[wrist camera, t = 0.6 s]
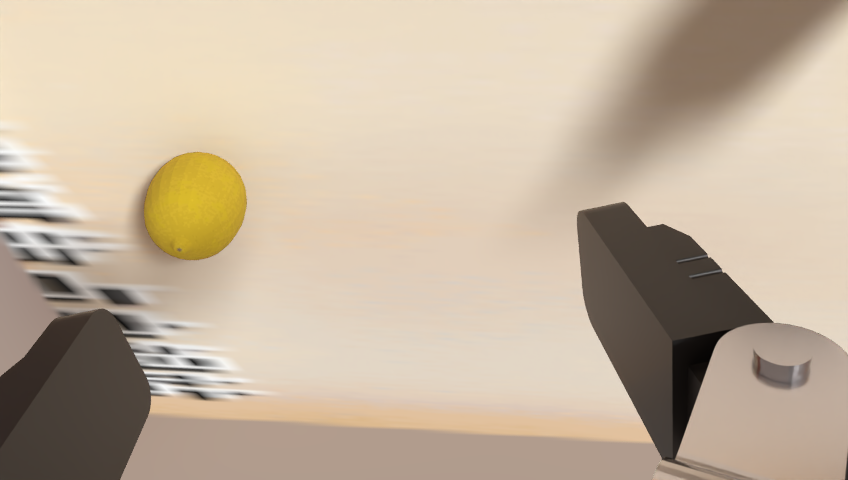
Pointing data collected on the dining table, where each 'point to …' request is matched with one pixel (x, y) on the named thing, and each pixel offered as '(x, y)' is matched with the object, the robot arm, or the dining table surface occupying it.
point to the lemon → (195, 206)
